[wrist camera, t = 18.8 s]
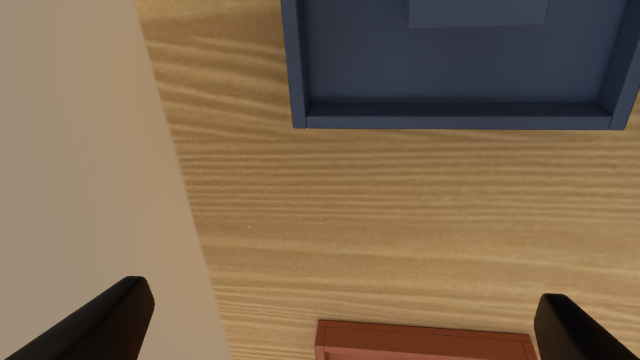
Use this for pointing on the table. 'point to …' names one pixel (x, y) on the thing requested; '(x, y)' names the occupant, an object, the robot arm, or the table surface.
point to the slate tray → (461, 68)
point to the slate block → (474, 13)
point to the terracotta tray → (416, 343)
